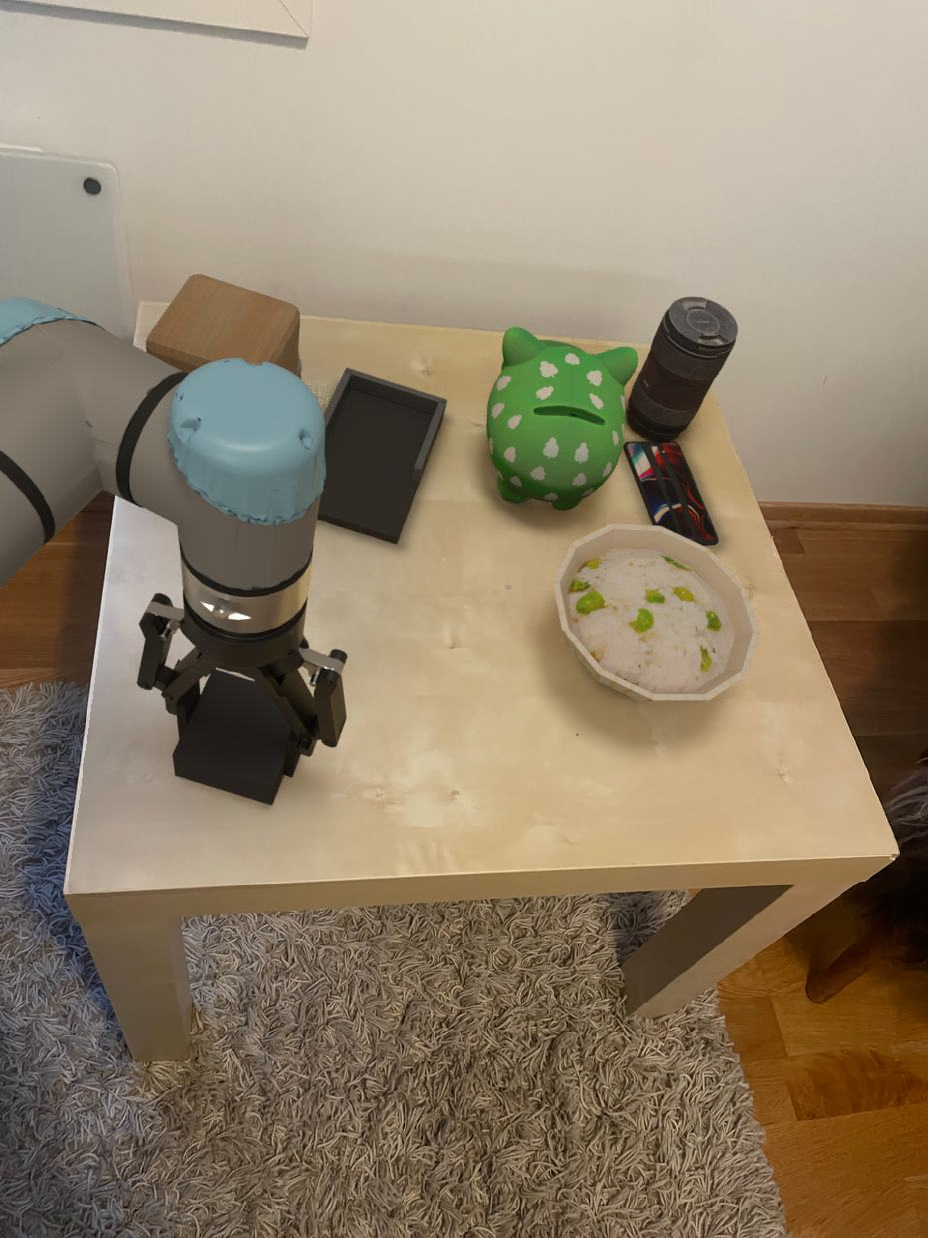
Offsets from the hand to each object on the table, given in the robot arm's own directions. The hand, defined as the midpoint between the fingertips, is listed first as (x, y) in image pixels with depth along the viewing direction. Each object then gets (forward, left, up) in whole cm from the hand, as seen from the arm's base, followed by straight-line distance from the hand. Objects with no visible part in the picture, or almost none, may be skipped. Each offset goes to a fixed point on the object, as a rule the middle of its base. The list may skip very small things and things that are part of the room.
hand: (242, 745), depth 75 cm
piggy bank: (+17, +42, -2) cm, 45 cm away
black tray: (0, +35, -2) cm, 35 cm away
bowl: (+30, +21, -2) cm, 37 cm away
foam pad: (0, 0, 0) cm, 0 cm away
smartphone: (+33, +45, -2) cm, 55 cm away
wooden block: (-12, +27, -2) cm, 29 cm away
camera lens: (+29, +55, -2) cm, 62 cm away
